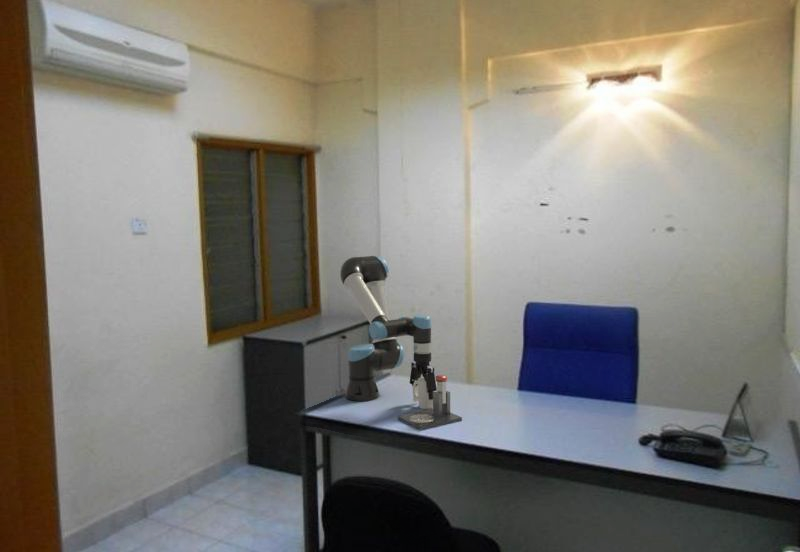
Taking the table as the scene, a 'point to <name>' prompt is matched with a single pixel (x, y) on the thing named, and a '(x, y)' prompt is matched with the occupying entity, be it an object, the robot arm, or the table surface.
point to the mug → (421, 393)
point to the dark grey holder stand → (432, 414)
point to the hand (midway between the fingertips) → (423, 403)
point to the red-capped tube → (441, 386)
